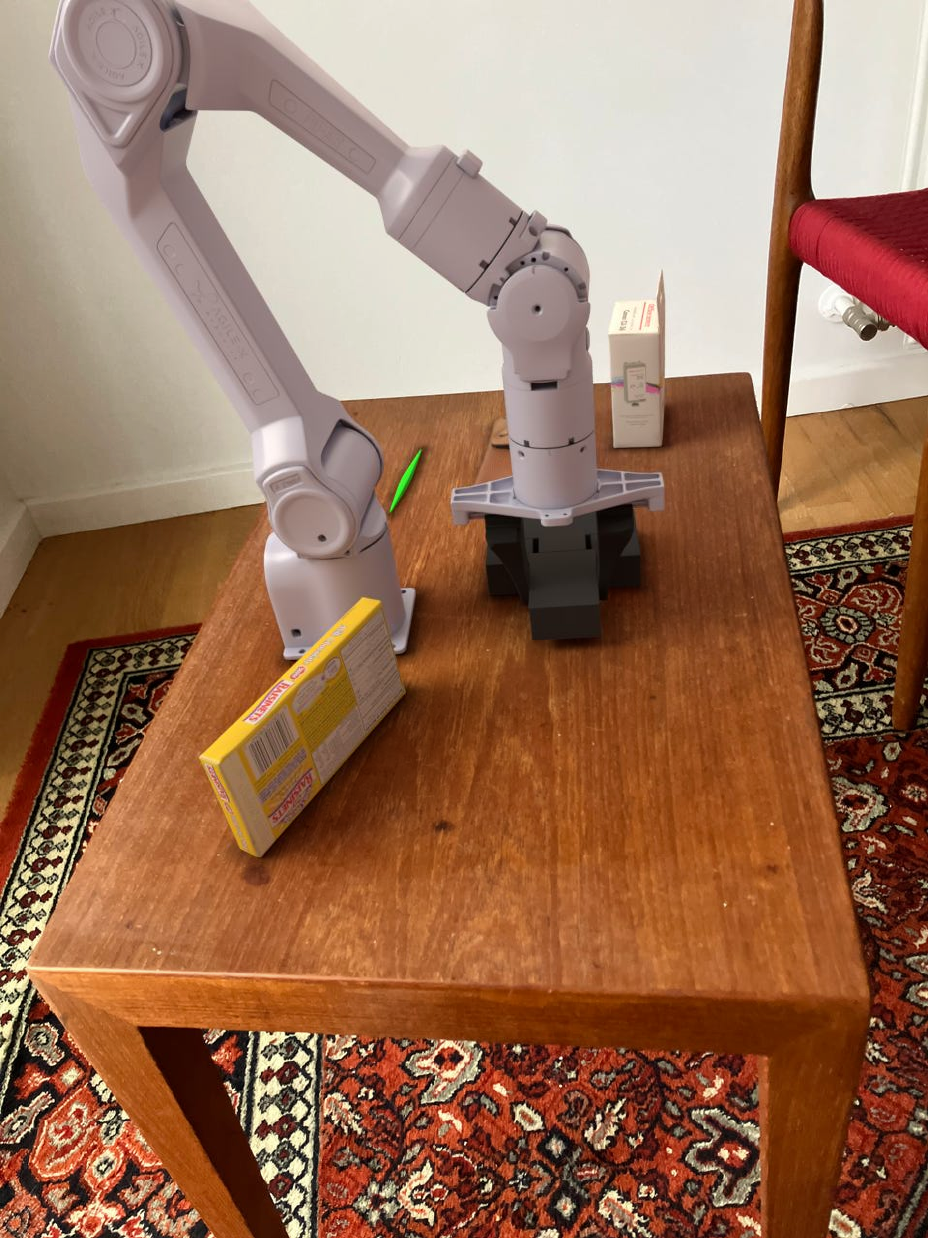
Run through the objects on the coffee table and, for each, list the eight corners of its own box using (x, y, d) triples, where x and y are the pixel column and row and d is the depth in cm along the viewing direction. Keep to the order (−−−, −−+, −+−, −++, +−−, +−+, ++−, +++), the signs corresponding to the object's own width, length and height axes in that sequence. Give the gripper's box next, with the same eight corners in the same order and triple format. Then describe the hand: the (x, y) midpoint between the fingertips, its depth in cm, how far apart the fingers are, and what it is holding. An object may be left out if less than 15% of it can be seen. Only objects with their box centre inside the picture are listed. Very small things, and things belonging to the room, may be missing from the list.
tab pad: (531, 641, 69) (528, 608, 67) (532, 563, 76) (529, 532, 75) (601, 637, 68) (599, 603, 66) (595, 559, 76) (593, 527, 74)
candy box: (383, 686, 68) (362, 593, 63) (408, 693, 67) (387, 600, 62) (235, 848, 58) (195, 753, 53) (261, 861, 57) (222, 765, 52)
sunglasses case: (489, 418, 100) (517, 364, 96) (549, 446, 101) (578, 394, 97) (466, 507, 86) (496, 449, 82) (535, 538, 87) (568, 482, 83)
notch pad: (489, 595, 76) (485, 565, 74) (493, 547, 81) (489, 517, 79) (641, 586, 74) (640, 554, 72) (634, 538, 80) (633, 507, 78)
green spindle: (383, 521, 87) (382, 513, 87) (419, 449, 98) (418, 442, 98) (393, 521, 87) (391, 513, 87) (427, 449, 98) (426, 442, 97)
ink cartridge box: (617, 410, 99) (613, 268, 90) (665, 409, 98) (666, 265, 89) (610, 449, 92) (605, 300, 84) (662, 448, 91) (662, 297, 82)
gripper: (437, 467, 60) (463, 634, 68) (670, 448, 58) (668, 622, 66) (445, 417, 65) (469, 577, 73) (658, 399, 63) (658, 565, 72)
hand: (563, 595), depth 70 cm, fingers closed on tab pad, 5 cm apart
